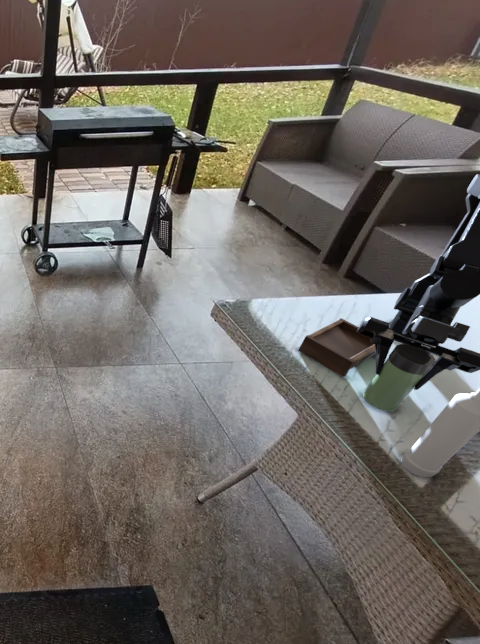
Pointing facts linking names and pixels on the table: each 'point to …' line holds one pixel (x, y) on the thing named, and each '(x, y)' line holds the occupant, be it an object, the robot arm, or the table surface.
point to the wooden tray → (338, 347)
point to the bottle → (445, 435)
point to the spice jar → (398, 377)
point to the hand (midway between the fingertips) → (395, 381)
